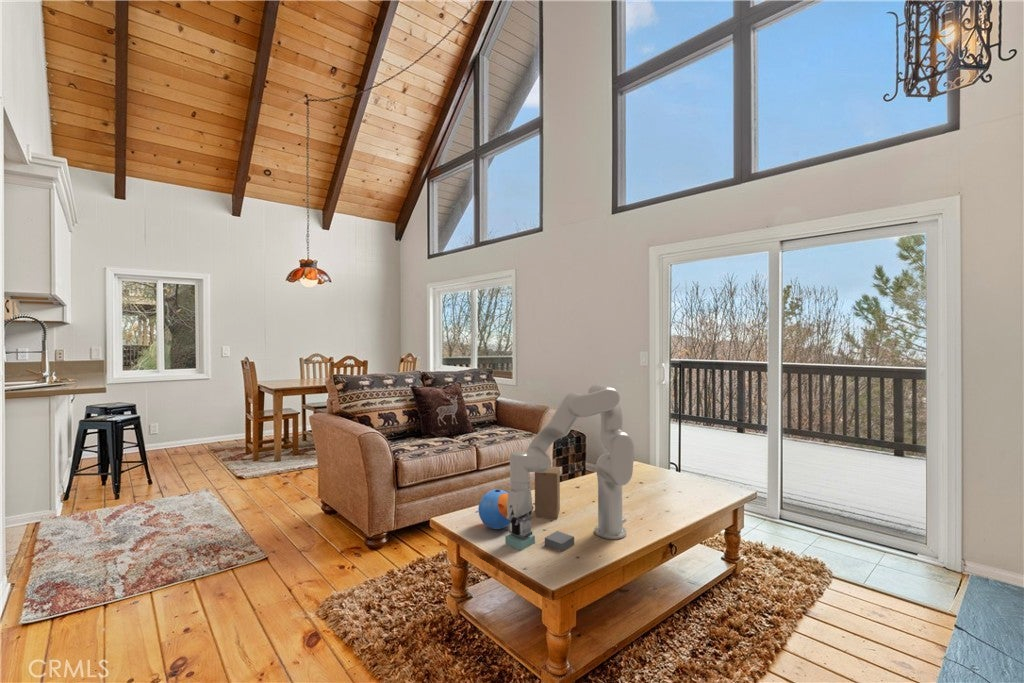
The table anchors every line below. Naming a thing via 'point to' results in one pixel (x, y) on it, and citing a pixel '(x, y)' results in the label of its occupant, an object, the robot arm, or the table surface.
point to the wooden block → (547, 493)
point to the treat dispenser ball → (494, 509)
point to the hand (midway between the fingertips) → (520, 531)
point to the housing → (523, 526)
